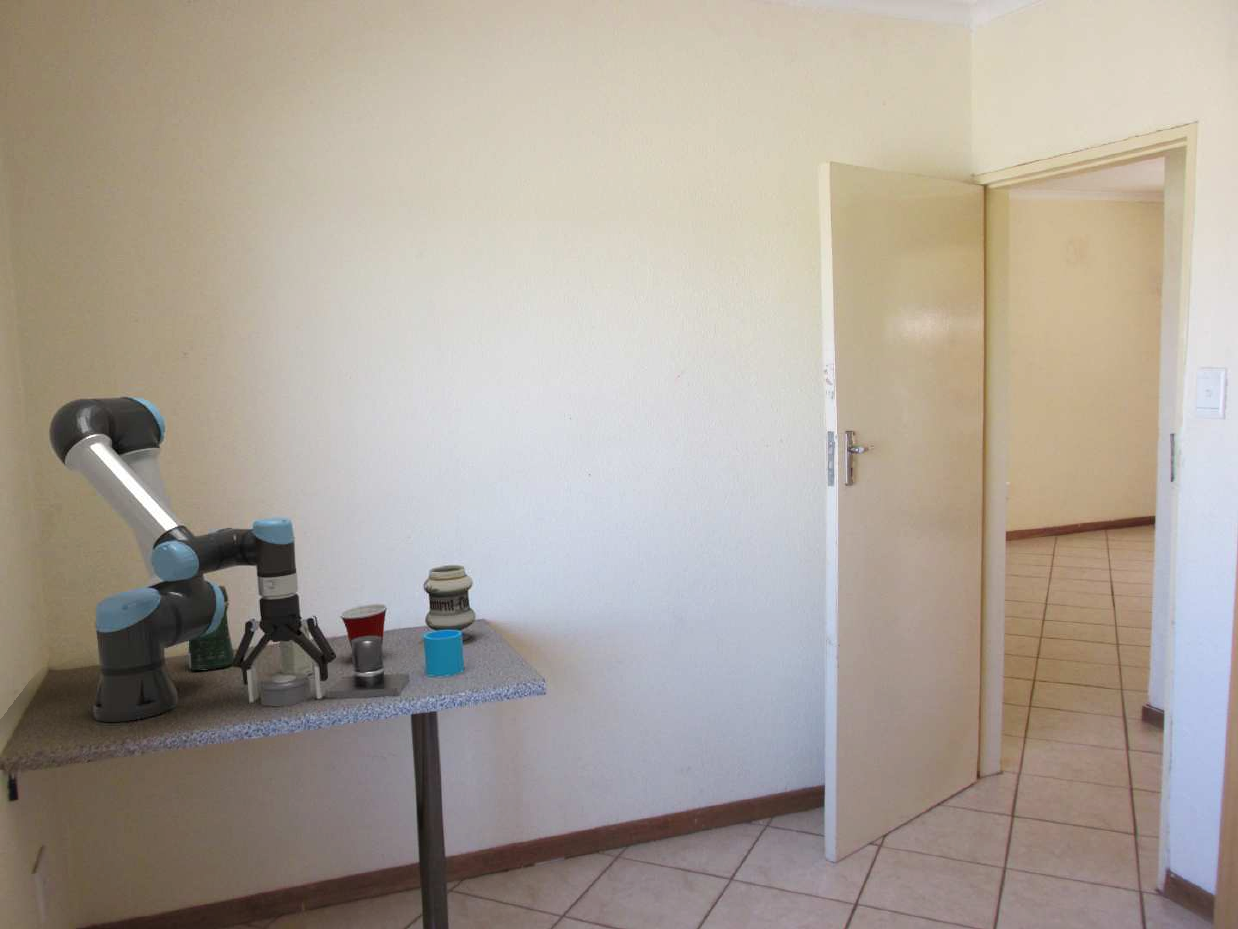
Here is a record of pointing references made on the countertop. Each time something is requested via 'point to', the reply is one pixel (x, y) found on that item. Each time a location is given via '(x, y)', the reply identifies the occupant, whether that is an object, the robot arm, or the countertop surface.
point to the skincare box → (295, 656)
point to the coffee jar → (213, 645)
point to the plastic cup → (364, 621)
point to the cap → (285, 689)
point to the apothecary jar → (449, 599)
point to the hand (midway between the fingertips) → (287, 698)
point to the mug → (443, 652)
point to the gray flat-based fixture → (368, 673)
